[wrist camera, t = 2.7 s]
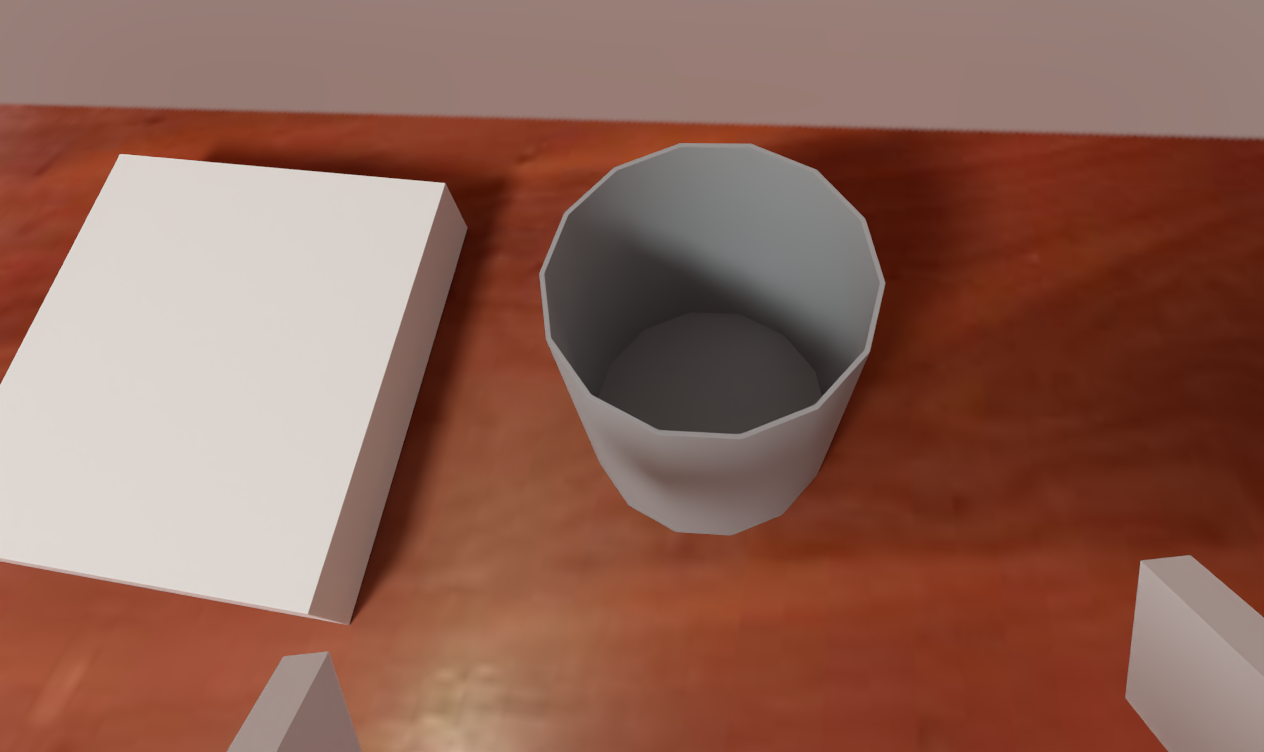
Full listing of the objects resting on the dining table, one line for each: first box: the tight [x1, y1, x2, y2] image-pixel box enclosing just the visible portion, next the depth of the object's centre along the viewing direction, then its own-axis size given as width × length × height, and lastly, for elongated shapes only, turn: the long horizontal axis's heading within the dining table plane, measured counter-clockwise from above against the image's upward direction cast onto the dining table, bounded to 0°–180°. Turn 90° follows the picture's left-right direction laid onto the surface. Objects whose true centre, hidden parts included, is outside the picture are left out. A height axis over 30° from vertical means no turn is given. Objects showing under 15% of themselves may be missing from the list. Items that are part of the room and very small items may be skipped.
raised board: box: [0, 154, 468, 625], centre depth 29 cm, size 14×16×3 cm
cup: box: [539, 143, 885, 535], centre depth 24 cm, size 8×8×10 cm
